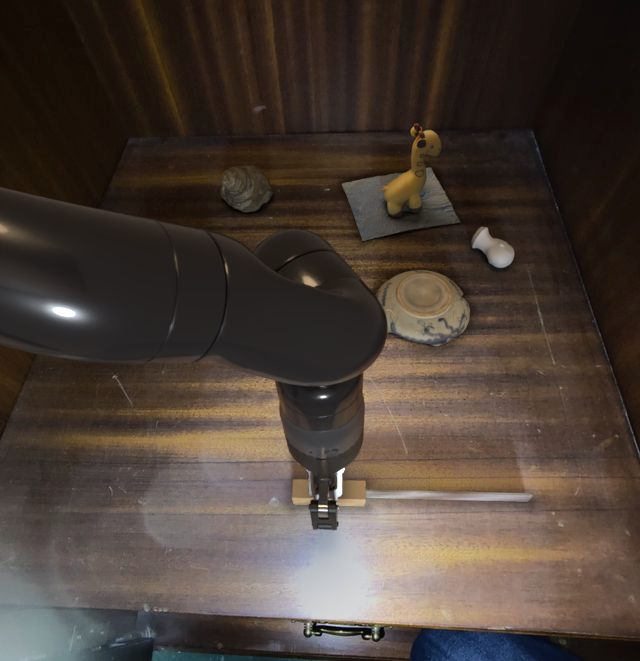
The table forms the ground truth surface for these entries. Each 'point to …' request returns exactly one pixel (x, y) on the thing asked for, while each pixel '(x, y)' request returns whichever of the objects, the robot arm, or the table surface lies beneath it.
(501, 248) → the smooth white sculpture
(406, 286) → the decorative bowl
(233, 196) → the seashell
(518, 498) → the knife
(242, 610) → the table surface
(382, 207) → the stuffed giraffe
